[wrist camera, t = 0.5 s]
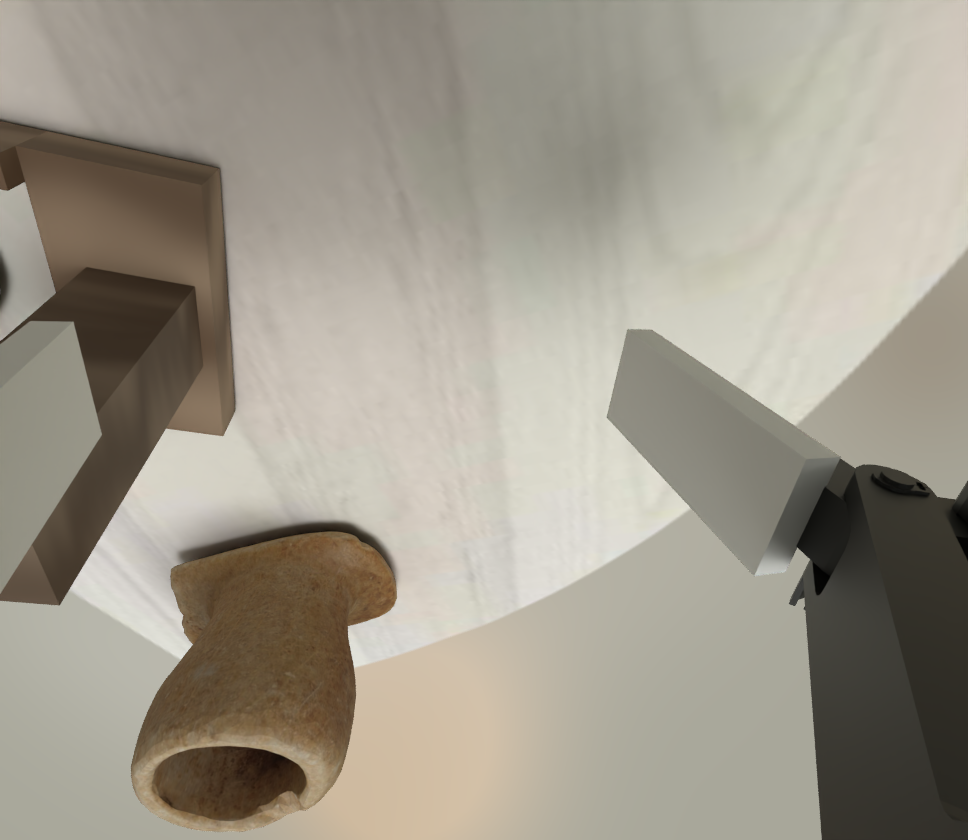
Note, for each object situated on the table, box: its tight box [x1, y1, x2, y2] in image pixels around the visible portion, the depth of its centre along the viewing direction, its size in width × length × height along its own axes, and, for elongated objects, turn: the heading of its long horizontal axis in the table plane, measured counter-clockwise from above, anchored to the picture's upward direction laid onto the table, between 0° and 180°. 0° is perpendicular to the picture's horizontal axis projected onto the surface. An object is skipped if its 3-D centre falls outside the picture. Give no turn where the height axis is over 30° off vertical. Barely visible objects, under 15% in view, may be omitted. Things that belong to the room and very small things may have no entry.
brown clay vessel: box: [131, 532, 397, 832], centre depth 33 cm, size 15×12×15 cm
